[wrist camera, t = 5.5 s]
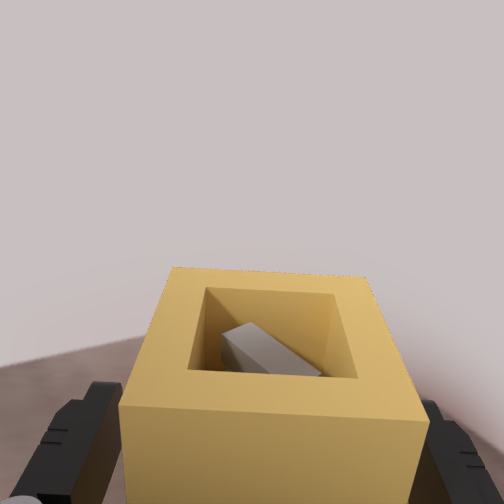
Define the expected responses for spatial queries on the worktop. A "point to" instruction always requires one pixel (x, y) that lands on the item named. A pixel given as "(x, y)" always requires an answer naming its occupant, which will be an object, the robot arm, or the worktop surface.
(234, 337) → the board
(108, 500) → the worktop surface
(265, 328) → the yellow open box
